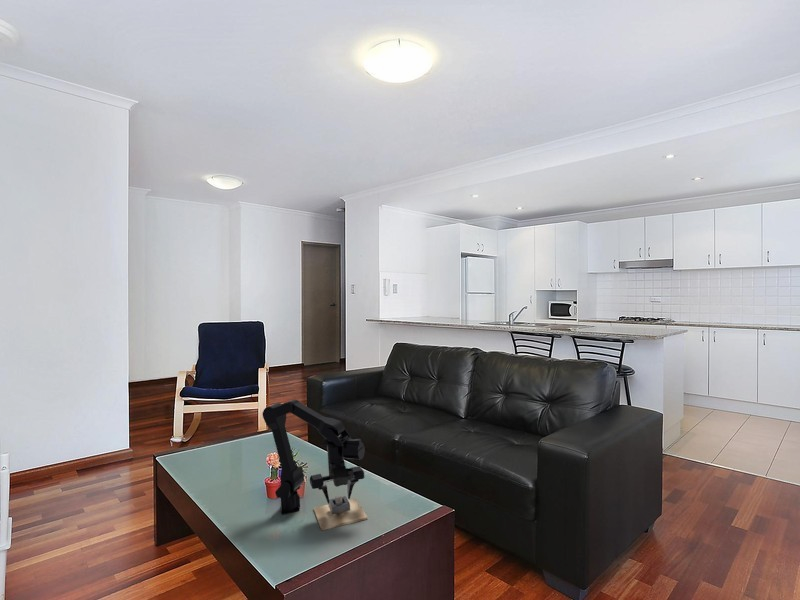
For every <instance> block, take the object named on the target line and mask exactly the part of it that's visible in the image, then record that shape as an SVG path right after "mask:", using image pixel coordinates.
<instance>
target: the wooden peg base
mask: <svg viewBox="0 0 800 600" xmlns="http://www.w3.org/2000/svg"><path fill="white" fill-rule="evenodd" d="M342 497H343V496H342V495H336V496H335V497H334V499H335V502H336V505H338V504H342ZM347 500H348V501H349V503H350V511H346V512H341V513H337V514H333V515H332V513H331V511H330V509H329V505H328V504H324V505H320V506H316V507H312V508H313V512H314V515H315V518H316V520H317V522H318V525H319V528H320V531H324V530H330V529H333V528H337V527H342V526H346V525H350V524H353V523H357V522H362V521H365V520H368V515H367V514H366V513H365V511H364V509H363V507H362V506H361V505H360V503H359V500H358V499H357V498H356V497H355V498H351V499H347Z"/></svg>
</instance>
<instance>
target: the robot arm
mask: <svg viewBox="0 0 800 600" xmlns="http://www.w3.org/2000/svg"><path fill="white" fill-rule="evenodd" d="M287 414H293V415H294V416H295V417H297V418H299V419H300V420H302V421H303V422H305V423H307V424H308V425H311V426H312V427H314V428H316V430H317V431H318V432H319V434H320V435H321V436H322V437H323V438H324V441H322V443H321V444H320V445H321V446H323V447H325V446H326V450H327V451H326V453H327V466H328V475H324V476H323V475H322V474H321V473H317V474H311V475H310V477H309V484H310V486H311V489H313V490H316V489H318V490H321V491H322V492H323V495H324V497H325V499H326V501H327V505H328V504H329V500H330V498H329V492H328V486H327V484H326V483H327V482H332V481H333V485H334V486H335V487H336V488H337V487H340V486H347V500H350V498H351V495H352V492H353V489H354V486H355V484H357V483H358V482H360V481H359V480H363V479H365V471H364V470H363V468H362V467H361V466H359V465H358V466H353V467H350V468H347V467H346V462H345V459H346V460H347V459H348V460H363V459H364V456H365V451H366V450H365V444H364V443H363V442H362V439H361V438H355V439H354V438H352V436H351V435H350V433H349V432H348V431H347V429H346V428H345V425H344V423H343V421H341V420H339V419H336V418H334V417H327V416H324V415H322V414H320V413H318V412H317V411H315V410H314V409H312V408H310V407H309V406H307V405H305V404H304V403H301V402H300V400H298V399H295V398H294V399H292V400H289V401H286V402H284V403H280V402H276V403H274V404H271V405H269V406H266V407H265V408H264V409H263V411H262V418H263V420H264V423H265V425H266V426H267V427H268V428H269V429H270V430H271V432H272V437H273V441H274V443H275V447H276V453H277V456H278V459H279V463H280V468H281V470H280V477H279V479H280V480H279V481H280V486H279V487H278V488H277V489H276V490H275V493H274V494H275V496H276V498H279V500H280V501H279V502H280V506H279V510H280V512H281V513H280V514H281V515H283V516H284V515H288V514H292V513H297V512H300V507H301V500H300V494H299V492H298V490H300V489H301V486H302V485H303V483H304V481H305V478H304V477H305V476H306V475H305V474H304V470H303V466H302V465H300V466H298V465H297V463H296V462H295V460H294V455H293V451H292V447H291V445H290V443H291V442H290V440H289V437H288V432H287V429H286V422H287V421H286V420H287Z"/></svg>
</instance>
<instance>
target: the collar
mask: <svg viewBox="0 0 800 600" xmlns="http://www.w3.org/2000/svg"><path fill="white" fill-rule="evenodd" d="M348 500H349V499H348V497H347V496H346V495H344V496H342V504H338V505H336V502H335V498H331V499H330V498H329V504H328V503H327V505H329V509H330V511H331V513H332V515H333V514H337V513H341V512H346V511H350V503H349V501H348Z"/></svg>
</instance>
